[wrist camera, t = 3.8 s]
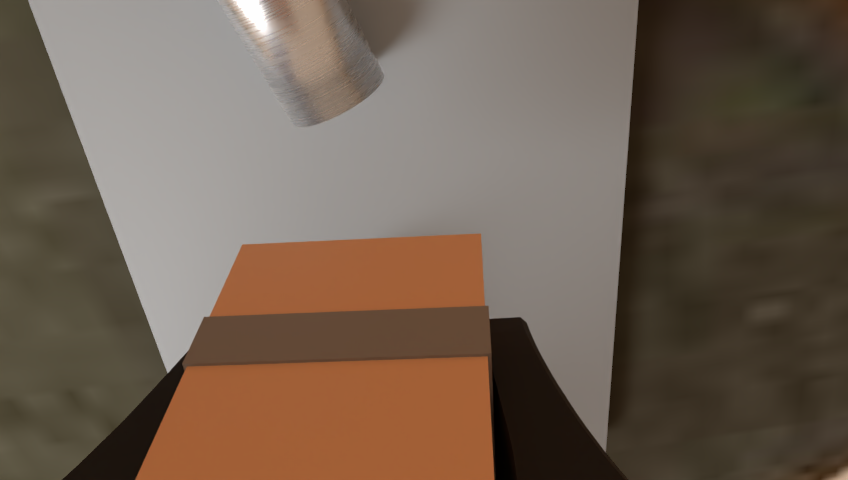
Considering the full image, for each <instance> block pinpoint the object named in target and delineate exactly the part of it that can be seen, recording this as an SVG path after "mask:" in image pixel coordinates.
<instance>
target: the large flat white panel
mask: <svg viewBox="0 0 848 480" xmlns="http://www.w3.org/2000/svg"><path fill="white" fill-rule="evenodd" d="M28 1H29V4H30V7H31V9H32V12H33V15H34V17H35V20H36V23H37V25H38V28H39V31H40V33H41V36H42V39H43V41H44V44H45V47H46V49H47V52H48V55H49V57H50V60H51V63H52V65H53V68H54V71H55V73H56V76H57V79H58V81H59V84H60V87H61V89H62V92H63V95H64V97H65V100H66V103H67V105H68V108H69V111H70V113H71V116H72V119H73V121H74V124H75V127H76V129H77V132H78V135H79V138H80V140H81V143H82V146H83V148H84V151H85V154H86V156H87V159H88V162H89V164H90V167H91V170H92V172H93V175H94V178H95V180H96V183H97V186H98V188H99V191H100V194H101V196H102V199H103V202H104V204H105V207H106V210H107V212H108V215H109V218H110V220H111V223H112V226H113V228H114V231H115V234H116V236H117V239H118V242H119V244H120V247H121V250H122V252H123V255H124V258H125V260H126V263H127V266H128V268H129V271H130V274H131V276H132V279H133V282H134V284H135V287H136V290H137V292H138V295H139V298H140V301H141V303H142V306H143V309H144V311H145V314H146V317H147V319H148V322H149V325H150V327H151V330H152V333H153V335H154V338H155V341H156V343H157V346H158V349H159V351H160V354H161V357H162V359H163V362H164V365H165V367H166V370H167V373H168V372H169V371H170V370H171V369H172V368H173V367H174V366H175V365H176V364H177V362H178V361H179V360H180V359H181V358H182V357H183V356H184V355H185V354H186V353H187V352H188V350H189V348H190V346H191V344H192V342H193V339H194V337H195V335H196V333H197V331H198V329H199V327H200V324H201V322H202V320H203V318H204V317H210V314H211V312H212V310H213V308H214V306H215V303H216V301H217V299H218V297H219V295H220V292H221V290H222V288H223V286H224V284H225V281H226V279H227V277H228V275H229V273H230V270H231V268H232V266H233V264H234V262H235V259H236V257H237V255H238V253H239V251H240V248H241V246H242V244H264V243H286V242H307V241H329V240H350V239H372V238H394V237H415V236H437V235H458V234H480V233H481V243H482V261H483V280H484V298H485V306H489V319H494V318H513V317H521V318H522V319H523V320H524V321H526V322H527V325H528V327H529V330H530V332H531V335H532V337H533V339H534V342H535V344H536V346H537V348H538V350H539V352H540V354H541V356H542V357H543V359H544V361H545V363H546V365H547V366H548V368H549V370H550V372H551V374H552V375H553V377H554V379H555V380H556V382H557V384H558V385H559V387H560V388H561V390H562V391H563V393H564V394H565V396H566V397H567V399H568V401H569V402H570V404H571V405H572V407H573V408H574V410H575V411H576V413H577V414H578V416H579V417H580V419H581V420H582V421H583V423H584V424H585V426H586V427H587V428H588V430H589V431H590V432H591V434H592V435H593V436H594V438H595V439H596V440H597V442H598V443H599V444H600V446H601V447H602V448H603V450H604V451H605V452H606V443H607V429H608V415H609V401H610V388H611V374H612V360H613V346H614V333H615V319H616V305H617V291H618V278H619V264H620V250H621V236H622V223H623V209H624V195H625V181H626V168H627V154H628V140H629V126H630V113H631V99H632V85H633V71H634V57H635V44H636V30H637V16H638V2H639V0H346V1H347V3H348V5H349V7H350V9H351V11H352V12H353V14H354V16H355V18H356V20H357V22H358V24H359V26H360V28H361V30H362V32H363V34H364V36H365V38H366V40H367V42H368V44H369V46H370V48H371V50H372V52H373V54H374V55H375V57H376V59H377V61H378V63H379V65H380V67H381V69H382V71H383V73H384V79H383V81H382V83H381V84H380V86H379V87H378V88H377V89H376V90H375V91H374V92H373V93H372V94H371V95H370V96H369V97H367V98H366V99H365V100H363V101H362V102H361V103H359V104H358V105H356V106H355V107H353V108H351V109H350V110H348V111H346V112H345V113H343V114H341V115H339V116H337V117H335V118H333V119H330V120H328V121H325V122H323V123H320V124H317V125H313V126H309V127H295V126H294V125H292V123H291V121H290V120H289V118H288V116H287V115H286V113H285V111H284V110H283V108H282V106H281V105H280V103H279V101H278V100H277V98H276V96H275V95H274V93H273V91H272V90H271V88H270V87H269V85H268V83H267V82H266V80H265V78H264V77H263V75H262V73H261V72H260V70H259V68H258V67H257V65H256V63H255V62H254V60H253V58H252V57H251V55H250V53H249V52H248V50H247V48H246V47H245V45H244V44H243V42H242V40H241V39H240V37H239V35H238V34H237V32H236V30H235V29H234V27H233V25H232V24H231V22H230V20H229V19H228V17H227V15H226V14H225V12H224V10H223V9H222V7H221V6H220V4H219V2H218V1H217V0H28Z"/></svg>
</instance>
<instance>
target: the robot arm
mask: <svg viewBox="0 0 848 480" xmlns="http://www.w3.org/2000/svg"><path fill="white" fill-rule="evenodd" d="M489 321H490V338H491V354H492V381H493V408H494V435H495V462H496V480H628V479H627V478H626V477H625V475H624V474H623V473H622V472H621V471H620V470H619V468H618V467H617V466H616V465H615V463H614V462H613V461H612V460H611V459H610V457H609V456H608V455H607V453H606V452H605V451H604V450H603V448H602V447H601V446H600V444H599V443H598V442H597V440H596V439H595V438H594V436H593V435H592V434H591V432H590V431H589V430H588V428H587V427H586V426H585V424H584V423H583V421H582V420H581V419H580V417H579V416H578V414H577V413H576V411H575V410H574V408H573V407H572V405H571V404H570V402H569V401H568V399H567V397H566V396H565V394H564V393H563V391H562V390H561V388H560V387H559V385H558V384H557V382H556V380H555V379H554V377H553V375H552V374H551V372H550V370H549V368H548V366H547V365H546V363H545V361H544V359H543V357H542V356H541V354H540V352H539V350H538V348H537V346H536V344H535V342H534V339H533V337H532V335H531V332H530V330H529V327H528V325H527V322H526V321H524V320H523V319H522V318H521V317H513V318H494V319H489ZM186 355H187V353H186V354H185V355H184V356H183V357H182V358H181V359H180V360H179V361H178V362H177V364H176V365H175V366H174V367H173V368H172V369H171V370H170V371H169V372H168V373H167V375H166V376H165V377H164V378H163V379H162V380H161V381H160V382H159V383H158V384H157V386H156V387H155V388H154V389H153V390H152V391H151V392H150V393H149V394H148V395H147V396H146V397H145V399H144V400H143V401H142V402H141V403H140V404H139V405H138V406H137V407H136V408H135V409H134V410H133V411H132V412H131V413H130V414H129V415H128V417H127V418H126V419H125V420H124V421H123V422H122V423H121V424H120V425H119V426H118V427H117V428H116V429H115V430H114V431H113V432H112V433H111V434H110V435H109V436H108V437H107V438H106V439H105V440H103V441H102V442H101V443H100V444H99V445H98V446H97V447H96V448H95V449H94V450H93V451H92V452H91V453H90V454H89V455H88V456H87V457H86V458H85V459H84V460H83V461H82V462H81V463H80V464H79V465H78V466H77V467H76V468H74V469H73V470H72V471H71V472H70V473H69V474H68V475H67V476H66V477H65V478H63V479H62V480H135V479H136V477H137V475H138V473H139V470H140V468H141V466H142V464H143V462H144V459H145V457H146V455H147V453H148V451H149V448H150V446H151V444H152V442H153V440H154V438H155V435H156V433H157V431H158V429H159V427H160V424H161V422H162V420H163V418H164V416H165V413H166V411H167V409H168V407H169V405H170V402H171V400H172V398H173V396H174V394H175V391H176V389H177V387H178V385H179V383H180V380H181V378H182V376H183V374H184V372H185V371H184V368H183V365H182V363H183V361H184V359H185V357H186Z"/></svg>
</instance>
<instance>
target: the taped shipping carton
mask: <svg viewBox="0 0 848 480" xmlns="http://www.w3.org/2000/svg"><path fill="white" fill-rule="evenodd" d="M182 365H183V368H184V371H185V372H184V374H183V376H182V378H181V380H180V383H179V385H178V387H177V389H176V391H175V394H174V396H173V398H172V400H171V402H170V405H169V407H168V409H167V411H166V413H165V416H164V418H163V420H162V422H161V424H160V427H159V429H158V431H157V433H156V435H155V438H154V440H153V442H152V444H151V446H150V448H149V451H148V453H147V455H146V457H145V459H144V462H143V464H142V466H141V468H140V470H139V473H138V475H137V477H136V479H135V480H496V462H495V435H494V408H493V381H492V354H491V338H490V321H489V306H485V298H484V280H483V261H482V243H481V233H480V234H458V235H437V236H415V237H394V238H372V239H350V240H329V241H307V242H286V243H264V244H242V246H241V248H240V251H239V253H238V255H237V257H236V259H235V262H234V264H233V266H232V268H231V270H230V273H229V275H228V277H227V279H226V281H225V284H224V286H223V288H222V290H221V292H220V295H219V297H218V299H217V301H216V303H215V306H214V308H213V310H212V312H211V314H210V317H204V318H203V320H202V322H201V324H200V327H199V329H198V331H197V333H196V335H195V337H194V339H193V342H192V344H191V346H190V348H189V350H188V352H187V355H186V357H185V359H184V361H183V363H182Z"/></svg>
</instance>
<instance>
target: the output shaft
mask: <svg viewBox="0 0 848 480" xmlns="http://www.w3.org/2000/svg"><path fill="white" fill-rule="evenodd" d="M217 1H218V2H219V4H220V6H221V7H222V9H223V10H224V12H225V14H226V15H227V17H228V19H229V20H230V22H231V24H232V25H233V27H234V29H235V30H236V32H237V34H238V35H239V37H240V39H241V40H242V42H243V44H244V45H245V47H246V48H247V50H248V52H249V53H250V55H251V57H252V58H253V60H254V62H255V63H256V65H257V67H258V68H259V70H260V72H261V73H262V75H263V77H264V78H265V80H266V82H267V83H268V85H269V87H270V88H271V90H272V91H273V93H274V95H275V96H276V98H277V100H278V101H279V103H280V105H281V106H282V108H283V110H284V111H285V113H286V115H287V116H288V118H289V120H290V121H291V123H292V125H294V126H295V127H309V126H313V125H317V124H320V123H323V122H325V121H328V120H330V119H333V118H335V117H337V116H339V115H341V114H343V113H345V112H346V111H348V110H350V109H351V108H353V107H355V106H356V105H358V104H359V103H361V102H362V101H363V100H365V99H366V98H367V97H369V96H370V95H371V94H372V93H373V92H374V91H375V90H376V89H377V88H378V87H379V86H380V84H381V83H382V81H383V79H384V73H383V71H382V69H381V67H380V65H379V63H378V61H377V59H376V57H375V55H374V54H373V52H372V50H371V48H370V46H369V44H368V42H367V40H366V38H365V36H364V34H363V32H362V30H361V28H360V26H359V24H358V22H357V20H356V18H355V16H354V14H353V12H352V11H351V9H350V7H349V5H348V3H347V1H346V0H217Z"/></svg>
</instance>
